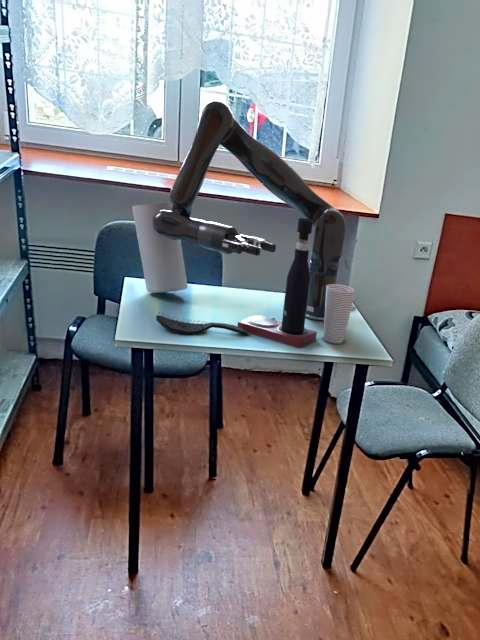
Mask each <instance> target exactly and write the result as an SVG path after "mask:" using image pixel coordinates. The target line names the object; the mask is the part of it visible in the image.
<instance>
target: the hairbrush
mask: <svg viewBox="0 0 480 640" xmlns="http://www.w3.org/2000/svg"><path fill="white" fill-rule="evenodd" d="M175 318H176V317H175V316H173V318H170V316H166V314H164V312H163V314H162V315H161V313H160V311H159V312H158V313H157V314H156V315H155V319H156V320H155V321H156V322H157V323H158V324H160V325H161V327H164V328H166V329H167V330H169V331H171V332H173V333H178V334H182V335H198V334H201V333H203V332H206V331H208V330H210V329H212V328H215V329H216V328H217V329H222V330H223V329H224V330H228V331H231V332H235V333H237V334H241V335H245V336H246V335H247V336H248V334H249V333H248V331H246V330H244V329H242V328H240V327H238V325H234V324H231V323H223V322H205V321H204V320H203V323H201V320H196V321H195V319H194V320H192V319H191V320H190V319H188V320H187V321H186V320H183V319H182V320H181V318H179V317H178V316H177V318H176V319H175ZM192 321H193V322H192ZM194 322H195V323H194ZM197 322H198V323H197Z"/></svg>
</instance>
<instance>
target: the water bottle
mask: <svg viewBox="0 0 480 640" xmlns="http://www.w3.org/2000/svg"><path fill="white" fill-rule="evenodd" d="M312 224H313V221H312V220H310V219H306V218H305V217H299V218H298V219H297V228H296V233H297V232H298V239H297V240H298V241H297V242H296V247H295V249H294V256H293V260H292V263H290V267H289V269H288V272H287V276H286V283H285V290H284V291H285V292H284V300H283V310H282V317H281V322H282V326H281V328H282V329H283V330H285V331H287V332H291V333H301V332H303V331H304V327H305V322H306V317H305V316H306V309H307V301H308V293H309V285H310V271H309V267H310V264H309V254H310V251H309V247H310V244H309V242H308V241H309V235H312V231H313V226H312Z"/></svg>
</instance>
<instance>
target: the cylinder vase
mask: <svg viewBox="0 0 480 640" xmlns="http://www.w3.org/2000/svg"><path fill="white" fill-rule="evenodd" d="M172 208H173V203H172V202H166V203H163V202H161V203H147V204H146V203H145V204H136V205H132V206H131V209H132V214H133V219H134V221H133V222H134V227H135V231H136V237H137V243H138V248H139V254H140V260H141V266H142V271H143V277H144V282H145V289H146V291H147V293H151V294H157V293H170V292H171V293H172V292H178V291H179V292H180V291H184V290H186V289H188V280H187V275H186V268H185V267H186V266H185V260H184V254H183V248H182V241H181V239H179V240H172V239H169V238H167V237H164V236H162V235H160V234H158V233H157V232H156V231H155V230H154V228H153V226H152V218H153V216H154V214H155V213H156V212H158V211H161V210H167V211H171V212H172Z"/></svg>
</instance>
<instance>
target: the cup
mask: <svg viewBox="0 0 480 640" xmlns="http://www.w3.org/2000/svg"><path fill="white" fill-rule="evenodd" d="M355 295H356V289H355V288H354V287H351V286H349V285H345V284H339V283H337V284H328V285H326V301H325V318H324V321H323V337H322V338H323V340H324V341H325V342H327V343H330V344H342V343H343V342H344V340H345V336H346V331H347V327H348V323H349V319H350V315H351V311H352V307H353V303H354V299H355Z"/></svg>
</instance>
